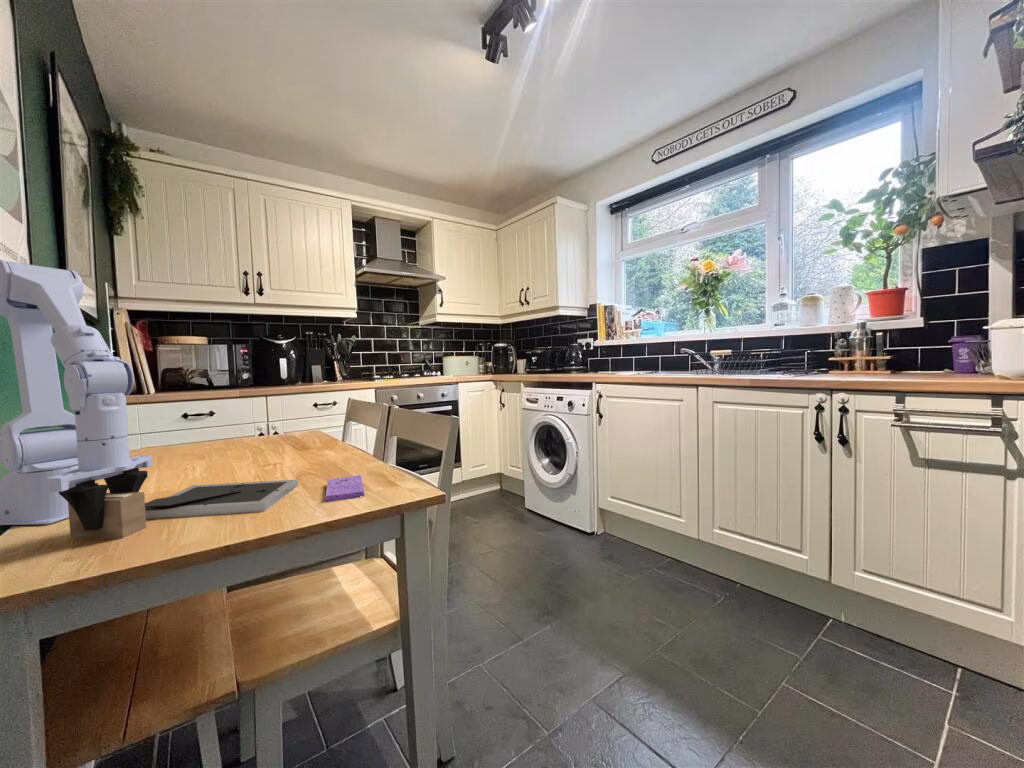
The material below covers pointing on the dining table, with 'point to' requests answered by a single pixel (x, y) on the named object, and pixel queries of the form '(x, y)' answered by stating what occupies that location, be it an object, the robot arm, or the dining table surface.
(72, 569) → the dining table surface
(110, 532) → the walnut block
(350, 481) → the sponges
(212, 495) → the picture frame
